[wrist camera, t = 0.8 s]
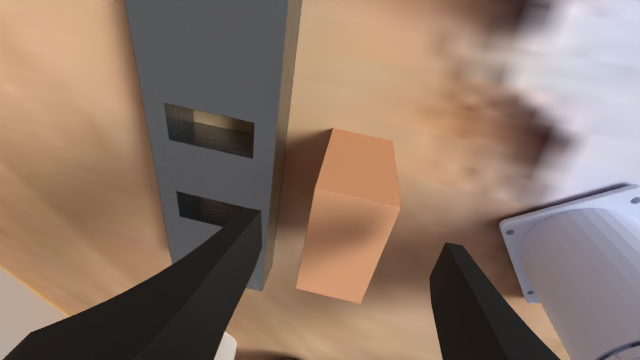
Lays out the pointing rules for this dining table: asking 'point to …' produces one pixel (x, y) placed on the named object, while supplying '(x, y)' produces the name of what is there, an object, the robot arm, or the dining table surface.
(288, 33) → the slate rail
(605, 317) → the robot arm
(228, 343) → the foam cup
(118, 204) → the dining table surface
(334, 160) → the tan orange block
